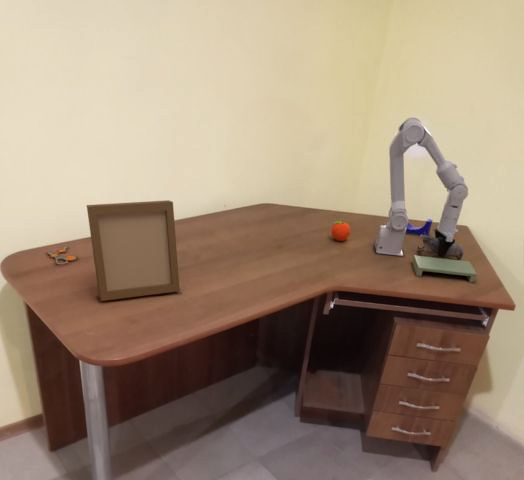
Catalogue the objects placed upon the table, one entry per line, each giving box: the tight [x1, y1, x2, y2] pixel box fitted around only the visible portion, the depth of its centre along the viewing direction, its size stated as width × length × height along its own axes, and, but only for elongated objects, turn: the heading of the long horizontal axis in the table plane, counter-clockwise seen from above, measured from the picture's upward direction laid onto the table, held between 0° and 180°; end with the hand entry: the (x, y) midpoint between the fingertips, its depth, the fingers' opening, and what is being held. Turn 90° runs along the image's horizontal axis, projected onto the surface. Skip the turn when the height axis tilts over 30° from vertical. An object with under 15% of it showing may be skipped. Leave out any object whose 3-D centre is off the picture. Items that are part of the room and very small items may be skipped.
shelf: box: [411, 254, 478, 283], centre depth 175 cm, size 19×10×3 cm, turn 85°
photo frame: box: [86, 199, 181, 302], centre depth 143 cm, size 15×22×25 cm
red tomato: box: [328, 220, 351, 242], centre depth 191 cm, size 8×7×7 cm
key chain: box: [46, 245, 77, 265], centre depth 163 cm, size 13×7×1 cm, turn 31°
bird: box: [417, 234, 465, 261], centre depth 185 cm, size 5×16×8 cm, turn 79°
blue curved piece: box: [405, 218, 433, 236], centre depth 204 cm, size 12×4×6 cm, turn 58°
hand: (439, 253), depth 186 cm, fingers closed on bird, 5 cm apart
